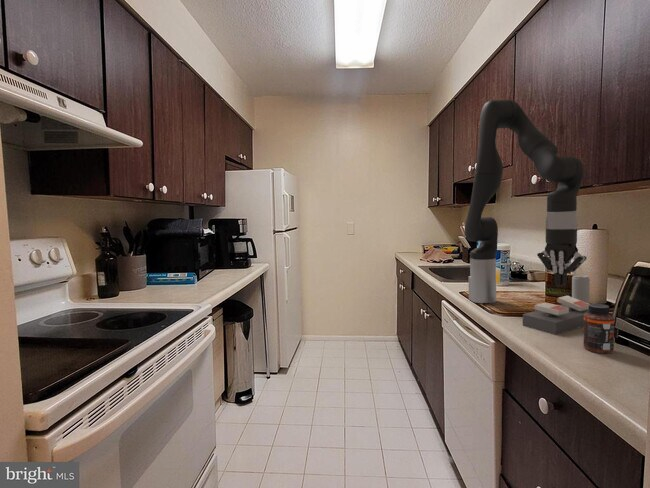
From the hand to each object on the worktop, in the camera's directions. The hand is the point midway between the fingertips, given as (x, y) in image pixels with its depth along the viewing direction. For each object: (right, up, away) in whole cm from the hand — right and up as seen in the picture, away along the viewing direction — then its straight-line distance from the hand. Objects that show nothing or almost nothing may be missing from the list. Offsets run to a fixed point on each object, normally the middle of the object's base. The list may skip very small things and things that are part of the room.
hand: (560, 285), depth 100 cm
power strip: (+4, -12, +5) cm, 14 cm away
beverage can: (+19, -11, +17) cm, 27 cm away
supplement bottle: (-1, -14, -15) cm, 21 cm away
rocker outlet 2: (+9, -6, +7) cm, 13 cm away
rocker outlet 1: (-1, -7, +3) cm, 8 cm away
